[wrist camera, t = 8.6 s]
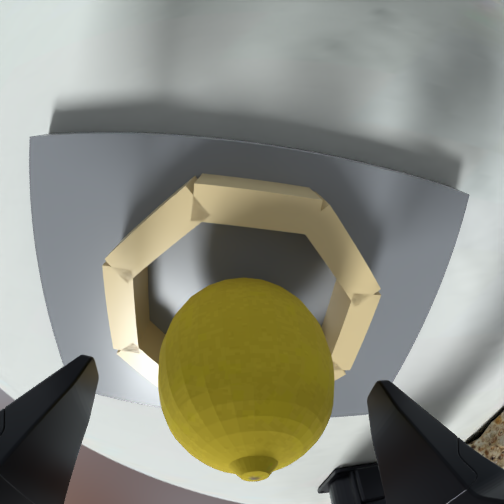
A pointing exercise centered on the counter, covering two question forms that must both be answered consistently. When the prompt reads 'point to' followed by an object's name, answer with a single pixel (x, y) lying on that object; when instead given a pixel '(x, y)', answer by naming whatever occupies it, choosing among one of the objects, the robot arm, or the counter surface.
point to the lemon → (246, 377)
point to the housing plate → (232, 247)
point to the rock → (492, 442)
